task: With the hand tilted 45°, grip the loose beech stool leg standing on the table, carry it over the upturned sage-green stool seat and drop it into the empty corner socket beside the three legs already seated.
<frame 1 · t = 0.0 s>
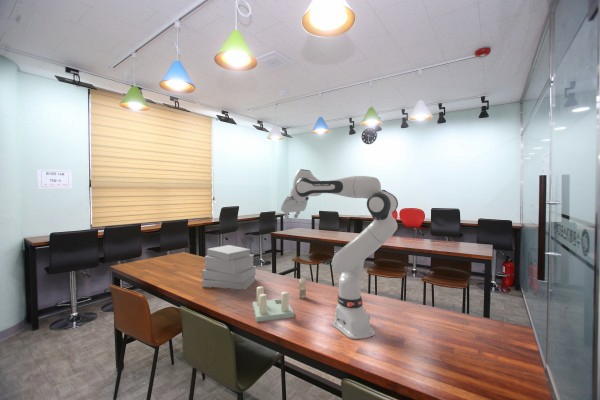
hand: (290, 218, 156), 52 cm above the table, tool tilted 20°, fingers open, 8 cm apart
loose leg: (302, 297, 169), on the table
book stack: (230, 283, 197), on the table
stool seat: (272, 311, 150), on the table
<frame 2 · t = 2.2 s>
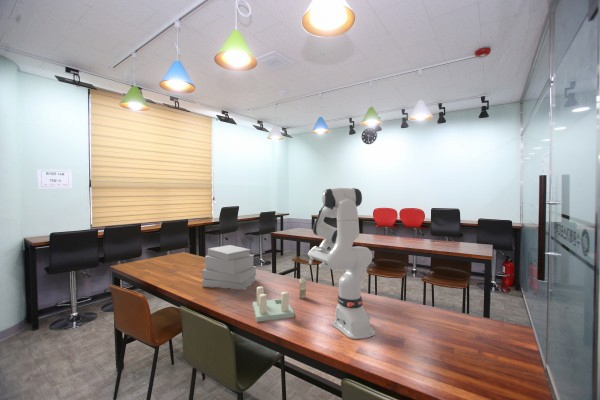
hand: (314, 265, 176), 19 cm above the table, tool tilted 45°, fingers open, 8 cm apart
nothing on the table moved.
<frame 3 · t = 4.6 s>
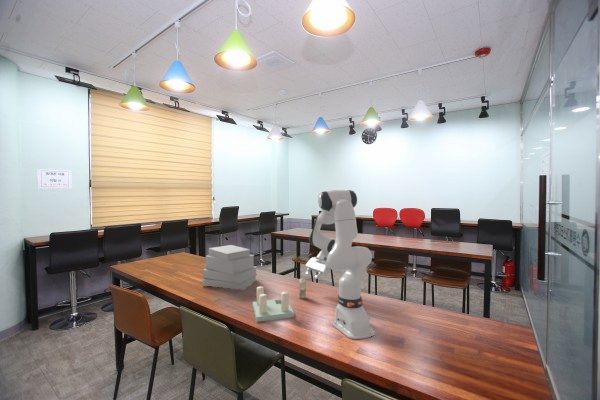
hand: (311, 276, 173), 12 cm above the table, tool tilted 45°, fingers open, 8 cm apart
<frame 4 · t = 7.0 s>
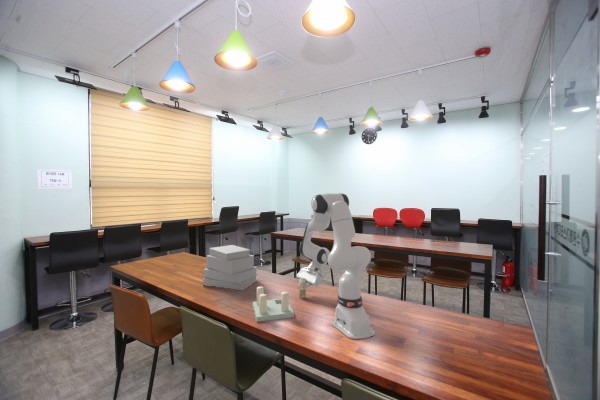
hand: (301, 287, 169), 7 cm above the table, tool tilted 45°, fingers closed on loose leg, 4 cm apart
loose leg: (302, 297, 169), on the table, touching gripper
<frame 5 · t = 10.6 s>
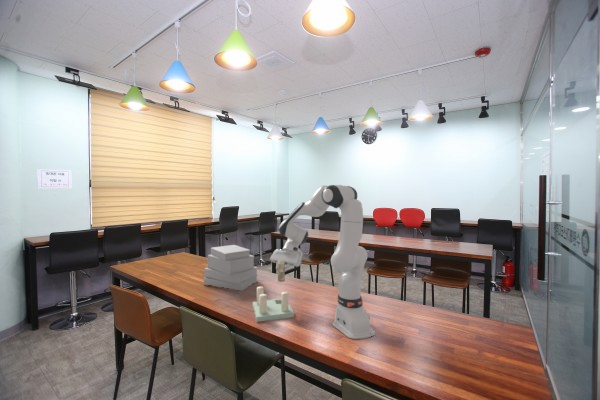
hand: (280, 269, 157), 21 cm above the table, tool tilted 45°, fingers closed on loose leg, 4 cm apart
loose leg: (281, 280, 158), point 15 cm above the table, touching gripper
when the fingers open (9 cm above the table, at t = 14.2 s): loose leg drops 2 cm, resting in stool seat.
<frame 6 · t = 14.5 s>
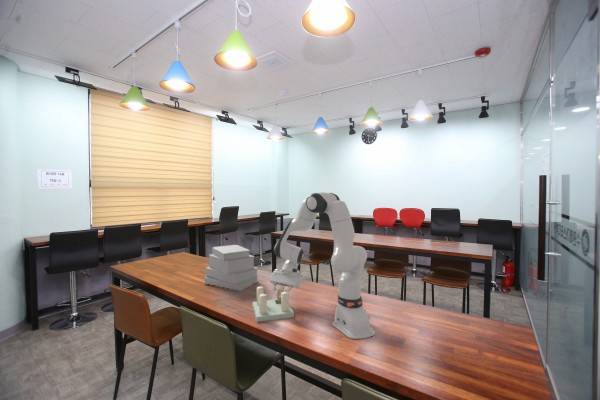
hand: (279, 291, 156), 9 cm above the table, tool tilted 45°, fingers open, 7 cm apart
loose leg: (280, 305, 157), resting in stool seat
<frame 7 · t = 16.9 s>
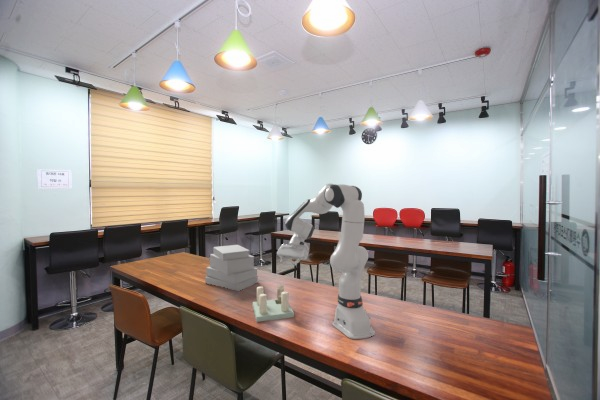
hand: (287, 264, 160), 24 cm above the table, tool tilted 45°, fingers open, 8 cm apart
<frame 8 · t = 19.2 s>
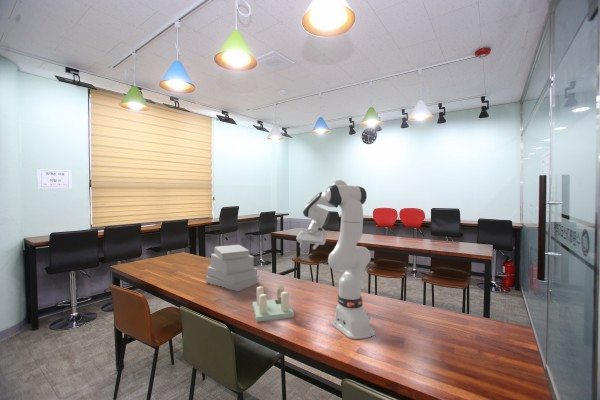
hand: (307, 248, 171), 31 cm above the table, tool tilted 45°, fingers open, 8 cm apart
at the end: loose leg 0.0 cm from the target spot on the stool seat, point 0.0 cm above the stool seat's base; loose leg tilted 0°; the gripper is holding nothing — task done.
